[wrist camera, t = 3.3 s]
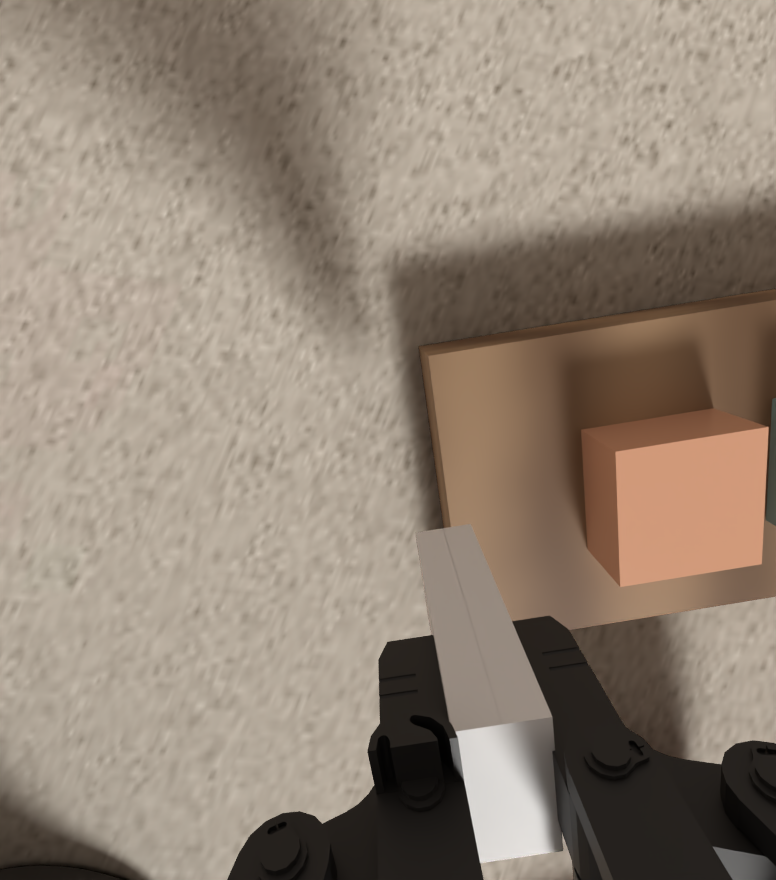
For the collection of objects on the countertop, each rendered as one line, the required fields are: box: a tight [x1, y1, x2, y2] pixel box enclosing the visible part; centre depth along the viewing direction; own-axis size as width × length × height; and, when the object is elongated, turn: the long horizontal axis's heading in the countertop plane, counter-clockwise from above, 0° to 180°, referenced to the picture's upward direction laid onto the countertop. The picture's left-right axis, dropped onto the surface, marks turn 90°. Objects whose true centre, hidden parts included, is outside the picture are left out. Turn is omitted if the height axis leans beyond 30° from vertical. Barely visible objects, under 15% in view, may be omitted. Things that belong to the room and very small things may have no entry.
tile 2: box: [581, 408, 769, 587], centre depth 17 cm, size 4×4×2 cm
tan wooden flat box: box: [419, 289, 776, 630], centre depth 20 cm, size 20×11×3 cm, turn 99°
